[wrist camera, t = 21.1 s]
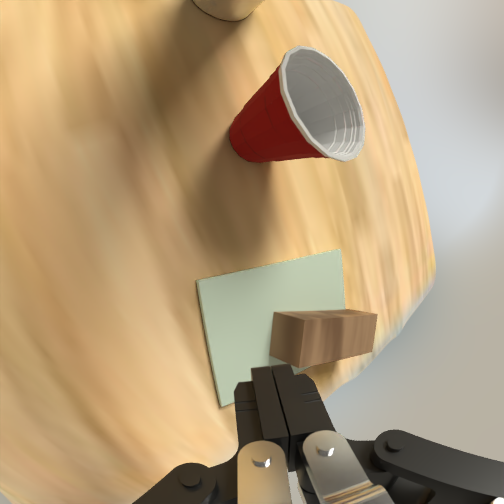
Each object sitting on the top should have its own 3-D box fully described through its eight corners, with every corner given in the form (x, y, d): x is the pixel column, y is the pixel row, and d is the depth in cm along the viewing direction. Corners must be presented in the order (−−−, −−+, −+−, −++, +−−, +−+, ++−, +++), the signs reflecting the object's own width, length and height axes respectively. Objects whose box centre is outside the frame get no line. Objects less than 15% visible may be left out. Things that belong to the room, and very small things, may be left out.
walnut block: (298, 368, 28) (372, 351, 35) (304, 319, 28) (377, 314, 35) (269, 355, 32) (343, 344, 39) (273, 311, 32) (348, 309, 39)
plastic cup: (298, 180, 35) (382, 160, 25) (219, 191, 29) (301, 162, 19) (280, 98, 33) (353, 58, 23) (201, 94, 28) (267, 32, 18)
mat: (219, 404, 29) (222, 406, 29) (196, 280, 28) (198, 280, 27) (343, 345, 40) (346, 346, 39) (337, 248, 39) (340, 249, 38)
